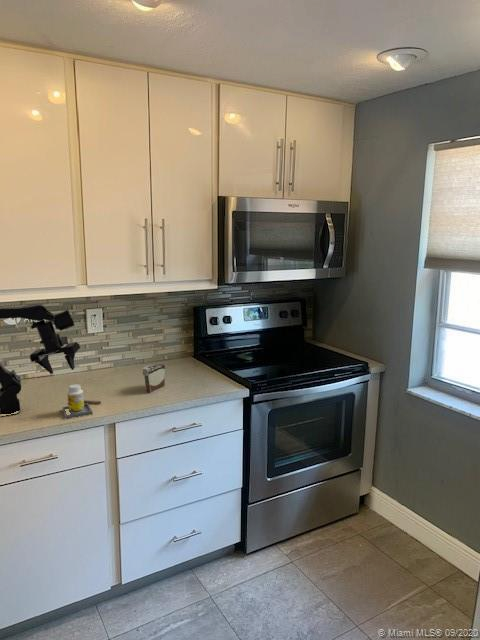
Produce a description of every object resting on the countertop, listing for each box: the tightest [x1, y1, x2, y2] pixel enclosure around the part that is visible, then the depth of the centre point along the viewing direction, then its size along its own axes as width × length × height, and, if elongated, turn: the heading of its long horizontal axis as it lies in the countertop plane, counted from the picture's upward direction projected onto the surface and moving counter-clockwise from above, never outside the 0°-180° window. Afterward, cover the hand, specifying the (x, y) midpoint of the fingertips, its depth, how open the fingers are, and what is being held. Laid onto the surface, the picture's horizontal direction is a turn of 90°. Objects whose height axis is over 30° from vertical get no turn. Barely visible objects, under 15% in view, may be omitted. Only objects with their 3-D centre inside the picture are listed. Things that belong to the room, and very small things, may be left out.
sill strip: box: [84, 399, 102, 405], centre depth 186 cm, size 12×1×1 cm, turn 87°
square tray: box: [61, 403, 93, 419], centre depth 178 cm, size 10×10×1 cm
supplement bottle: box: [67, 384, 84, 414], centre depth 177 cm, size 6×6×10 cm
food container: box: [142, 363, 167, 394], centre depth 202 cm, size 12×6×10 cm, turn 149°
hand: (62, 371), depth 183 cm, fingers open, 9 cm apart
